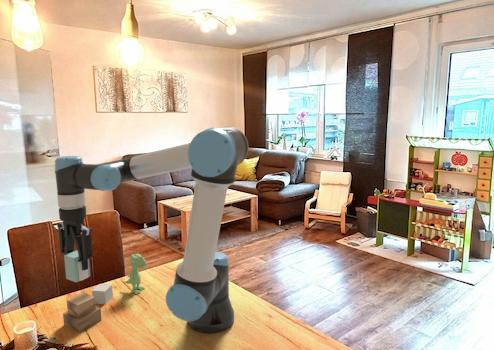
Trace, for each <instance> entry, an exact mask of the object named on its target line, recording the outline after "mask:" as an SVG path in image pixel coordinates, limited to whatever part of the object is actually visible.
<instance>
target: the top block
mask: <svg viewBox="0 0 494 350" xmlns="http://www.w3.org/2000/svg"><path fill="white" fill-rule="evenodd" d="M96 304H97V303H95V297H94V296H92V294H90V293H87V292H84V291H83V292H80V293H79V294H77V295H74V296H72V297H69V298H68V299H66V306H67V309H66V310H67V311H68V313H69V314H71V315H73V316H75V317H77V318H81V317H83V316H85V315H87V314H89V313H90V312H92V311H94V310H96V307H97V306H96Z"/></svg>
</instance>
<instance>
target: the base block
mask: <svg viewBox="0 0 494 350" xmlns="http://www.w3.org/2000/svg"><path fill="white" fill-rule="evenodd" d="M62 316H63V317H62V318H63V326H65V327H66V328H68V329H71V330H73V331H76V332H77V333H82V332H84V331H86V330H87V329H89V328H90V327H93V326H94V325H96V324H97V323H99V322H101V321H102V311H101V308H100V307H99V306H96V310H94V311H92V312H90V313H89V314H87V315H85V316H83V317H81V318H77V317H75V316H73V315H71V314H69V313H68V310H67V311H65V312H63V313H62Z"/></svg>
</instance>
